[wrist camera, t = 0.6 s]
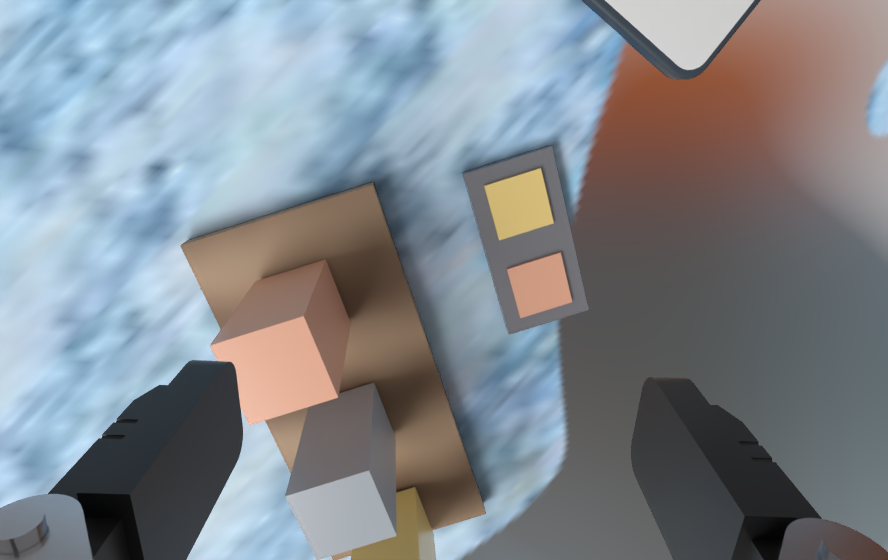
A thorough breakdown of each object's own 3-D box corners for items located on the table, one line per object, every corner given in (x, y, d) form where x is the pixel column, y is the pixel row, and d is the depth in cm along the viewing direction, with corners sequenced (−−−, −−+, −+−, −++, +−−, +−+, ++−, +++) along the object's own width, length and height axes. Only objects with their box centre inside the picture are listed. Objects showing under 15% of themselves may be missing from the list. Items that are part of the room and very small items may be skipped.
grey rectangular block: (309, 402, 33) (285, 496, 25) (374, 382, 33) (369, 470, 25) (333, 456, 34) (317, 560, 26) (395, 436, 34) (396, 535, 26)
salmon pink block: (255, 281, 30) (209, 345, 22) (325, 259, 30) (303, 316, 22) (283, 344, 31) (249, 425, 24) (350, 323, 31) (338, 397, 24)
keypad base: (186, 240, 30) (180, 245, 29) (373, 181, 30) (372, 184, 29) (334, 548, 38) (333, 560, 37) (483, 503, 38) (485, 513, 37)
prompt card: (462, 172, 30) (464, 175, 30) (549, 145, 30) (553, 146, 30) (507, 330, 34) (509, 335, 33) (585, 306, 34) (589, 310, 33)
